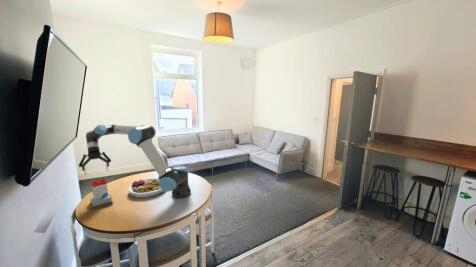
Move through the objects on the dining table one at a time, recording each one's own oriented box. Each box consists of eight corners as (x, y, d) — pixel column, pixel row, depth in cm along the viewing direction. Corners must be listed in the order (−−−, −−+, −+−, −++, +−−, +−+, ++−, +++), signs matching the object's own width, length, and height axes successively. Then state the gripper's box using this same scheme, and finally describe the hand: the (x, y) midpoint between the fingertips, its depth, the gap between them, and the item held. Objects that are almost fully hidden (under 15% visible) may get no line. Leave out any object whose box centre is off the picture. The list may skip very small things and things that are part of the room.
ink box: (106, 193, 157) (103, 175, 153) (108, 195, 153) (106, 178, 150) (93, 197, 150) (90, 179, 147) (94, 200, 147) (92, 181, 144)
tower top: (111, 201, 152) (110, 197, 152) (93, 206, 145) (92, 202, 144) (107, 195, 160) (107, 192, 159) (90, 200, 152) (90, 197, 152)
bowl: (173, 184, 188) (172, 176, 186) (156, 200, 158) (156, 190, 157) (142, 182, 191) (141, 174, 190) (121, 198, 162) (120, 188, 160)
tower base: (112, 205, 152) (112, 201, 151) (91, 211, 144) (91, 207, 143) (111, 198, 162) (110, 195, 161) (91, 203, 154) (90, 199, 154)
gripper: (111, 148, 171) (115, 170, 162) (74, 153, 157) (76, 178, 147) (111, 143, 166) (116, 166, 157) (72, 148, 151) (75, 173, 142)
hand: (96, 172), depth 152 cm, fingers open, 13 cm apart
